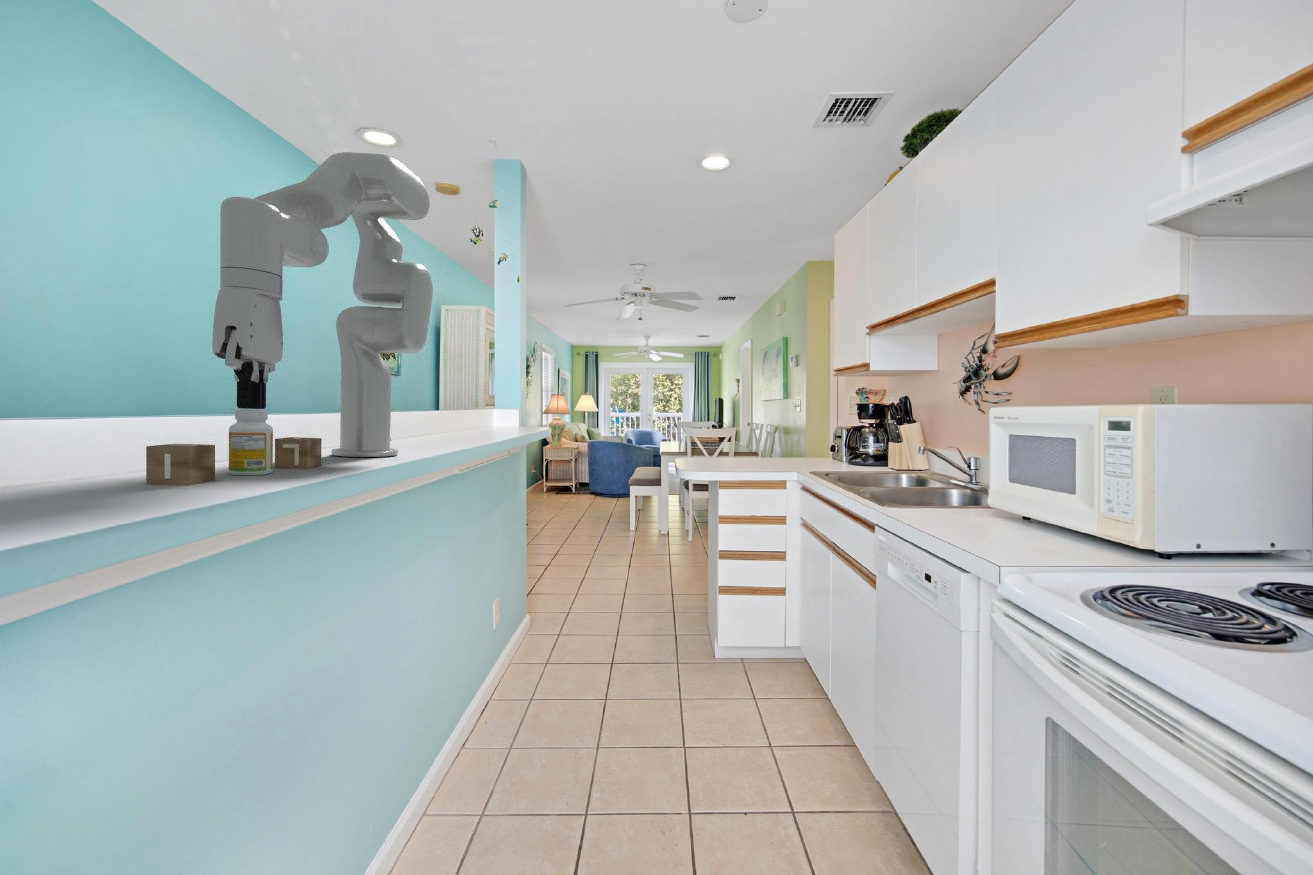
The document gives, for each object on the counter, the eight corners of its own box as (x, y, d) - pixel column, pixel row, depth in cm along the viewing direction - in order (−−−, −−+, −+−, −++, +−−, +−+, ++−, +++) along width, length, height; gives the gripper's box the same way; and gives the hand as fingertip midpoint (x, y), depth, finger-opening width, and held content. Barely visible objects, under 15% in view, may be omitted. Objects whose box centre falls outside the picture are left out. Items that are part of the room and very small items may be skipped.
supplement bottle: (247, 471, 86) (248, 409, 85) (281, 472, 86) (281, 410, 85) (219, 474, 81) (219, 409, 80) (254, 476, 80) (255, 410, 80)
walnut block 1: (174, 479, 75) (174, 443, 75) (215, 480, 76) (215, 444, 75) (145, 485, 70) (145, 445, 70) (188, 486, 71) (188, 446, 70)
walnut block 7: (290, 465, 95) (290, 436, 95) (321, 466, 96) (321, 437, 96) (274, 468, 90) (274, 438, 90) (306, 469, 91) (307, 439, 91)
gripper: (254, 294, 89) (253, 407, 90) (189, 272, 74) (189, 407, 75) (304, 298, 90) (302, 409, 91) (249, 276, 75) (249, 409, 76)
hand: (251, 408), depth 83 cm, fingers closed
